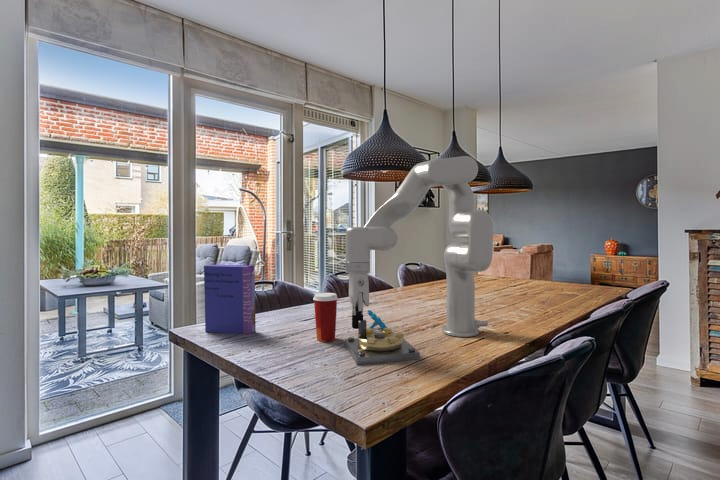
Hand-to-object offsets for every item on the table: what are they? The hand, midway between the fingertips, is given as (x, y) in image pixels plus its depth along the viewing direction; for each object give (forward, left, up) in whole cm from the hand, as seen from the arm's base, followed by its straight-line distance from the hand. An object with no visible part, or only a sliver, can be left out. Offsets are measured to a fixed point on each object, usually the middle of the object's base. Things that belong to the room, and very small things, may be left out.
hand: (357, 327), depth 120 cm
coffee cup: (+8, -13, -7) cm, 17 cm away
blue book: (+40, -31, -7) cm, 51 cm away
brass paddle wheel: (-6, +4, -4) cm, 9 cm away
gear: (-12, -19, -7) cm, 23 cm away
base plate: (-6, +4, -7) cm, 10 cm away
